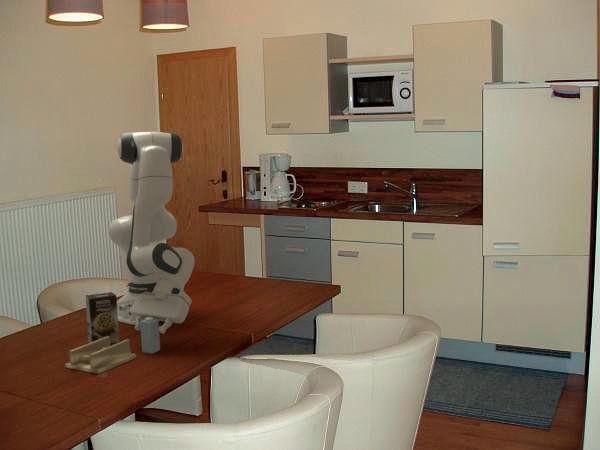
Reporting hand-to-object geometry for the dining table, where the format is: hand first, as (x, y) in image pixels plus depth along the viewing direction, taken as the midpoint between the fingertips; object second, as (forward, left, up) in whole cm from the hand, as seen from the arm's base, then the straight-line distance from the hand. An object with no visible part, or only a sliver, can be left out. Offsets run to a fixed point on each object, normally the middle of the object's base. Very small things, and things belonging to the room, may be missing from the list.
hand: (148, 330), depth 237 cm
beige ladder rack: (-7, -14, -7) cm, 17 cm away
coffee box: (-21, +2, -7) cm, 22 cm away
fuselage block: (0, +1, -7) cm, 7 cm away
